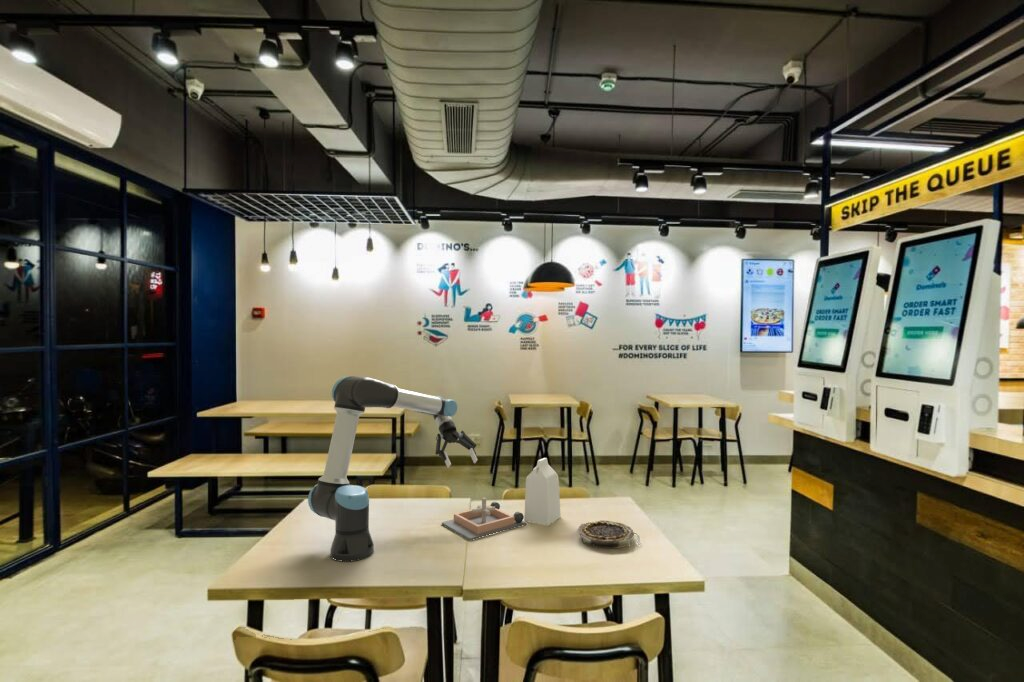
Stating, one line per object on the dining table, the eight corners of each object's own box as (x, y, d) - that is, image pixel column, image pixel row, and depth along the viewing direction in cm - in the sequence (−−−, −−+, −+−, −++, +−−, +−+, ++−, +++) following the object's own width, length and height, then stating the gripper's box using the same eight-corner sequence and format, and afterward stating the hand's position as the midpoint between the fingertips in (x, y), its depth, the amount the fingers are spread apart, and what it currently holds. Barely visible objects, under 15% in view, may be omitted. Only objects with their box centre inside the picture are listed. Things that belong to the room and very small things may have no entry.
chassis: (469, 541, 195) (469, 528, 195) (441, 524, 213) (441, 512, 213) (526, 524, 212) (526, 512, 212) (495, 510, 230) (495, 499, 230)
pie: (641, 558, 180) (641, 544, 180) (565, 552, 186) (565, 539, 186) (640, 529, 207) (640, 517, 207) (573, 525, 213) (573, 513, 213)
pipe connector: (468, 520, 215) (468, 496, 215) (489, 517, 219) (490, 494, 219) (477, 527, 206) (477, 502, 206) (499, 524, 210) (499, 500, 211)
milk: (548, 526, 211) (547, 463, 211) (524, 520, 217) (524, 460, 217) (560, 517, 221) (560, 458, 221) (537, 512, 227) (537, 455, 227)
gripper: (465, 427, 244) (483, 464, 231) (418, 433, 228) (434, 473, 216) (471, 417, 239) (489, 455, 227) (424, 422, 224) (440, 463, 212)
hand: (462, 463), depth 222 cm, fingers open, 13 cm apart
